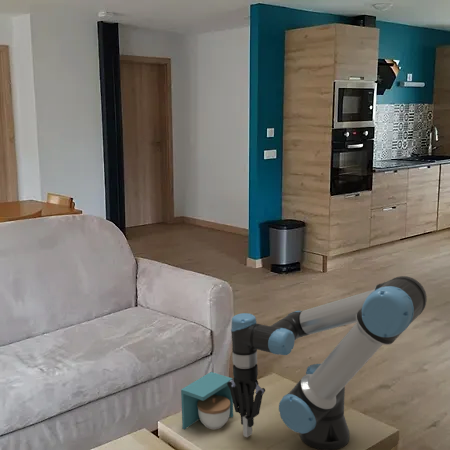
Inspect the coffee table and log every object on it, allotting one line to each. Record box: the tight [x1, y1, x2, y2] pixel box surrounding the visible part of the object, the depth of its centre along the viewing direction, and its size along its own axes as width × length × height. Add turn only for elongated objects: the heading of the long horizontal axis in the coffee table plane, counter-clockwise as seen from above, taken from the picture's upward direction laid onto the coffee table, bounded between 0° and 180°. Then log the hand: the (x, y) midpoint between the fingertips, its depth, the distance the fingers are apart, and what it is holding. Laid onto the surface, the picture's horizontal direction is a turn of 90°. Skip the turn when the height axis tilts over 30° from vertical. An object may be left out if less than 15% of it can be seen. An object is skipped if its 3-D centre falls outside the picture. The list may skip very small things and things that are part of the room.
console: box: [180, 371, 234, 430], centre depth 194 cm, size 9×16×14 cm, turn 144°
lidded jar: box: [197, 395, 230, 430], centre depth 193 cm, size 11×11×9 cm
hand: (247, 434), depth 186 cm, fingers closed
